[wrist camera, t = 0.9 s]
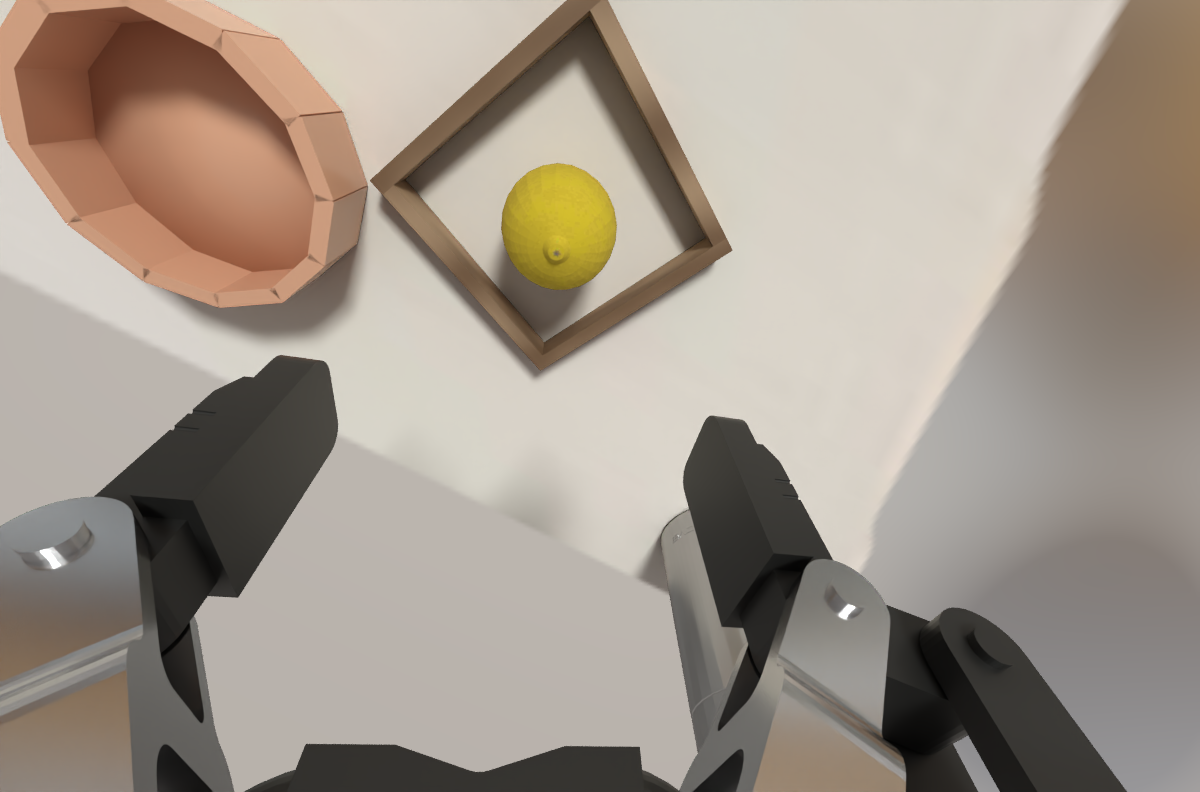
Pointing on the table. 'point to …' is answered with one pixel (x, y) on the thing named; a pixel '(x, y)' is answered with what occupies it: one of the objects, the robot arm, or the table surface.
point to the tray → (526, 54)
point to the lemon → (558, 226)
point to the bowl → (182, 144)
